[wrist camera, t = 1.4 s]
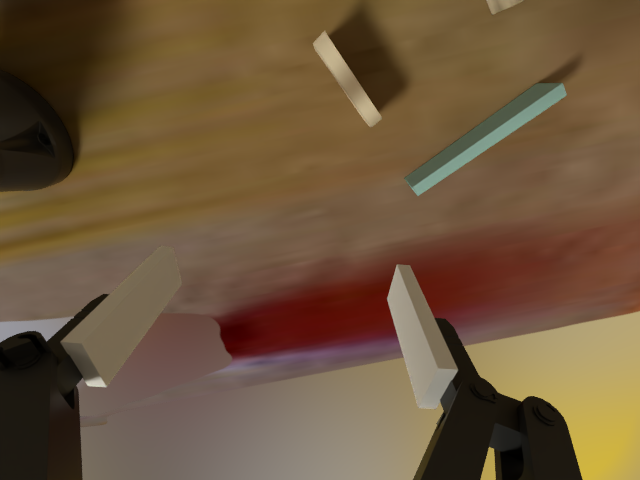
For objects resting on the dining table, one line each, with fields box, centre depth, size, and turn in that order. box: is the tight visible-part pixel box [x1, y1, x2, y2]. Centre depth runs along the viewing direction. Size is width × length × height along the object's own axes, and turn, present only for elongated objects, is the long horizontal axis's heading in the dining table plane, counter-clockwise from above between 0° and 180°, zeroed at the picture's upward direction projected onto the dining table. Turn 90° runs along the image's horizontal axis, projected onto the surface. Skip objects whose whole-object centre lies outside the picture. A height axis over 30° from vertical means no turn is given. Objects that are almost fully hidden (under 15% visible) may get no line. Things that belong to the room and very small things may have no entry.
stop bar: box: [404, 83, 567, 196], centre depth 33 cm, size 2×18×4 cm, turn 130°
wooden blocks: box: [313, 0, 524, 127], centre depth 27 cm, size 10×18×5 cm, turn 130°
